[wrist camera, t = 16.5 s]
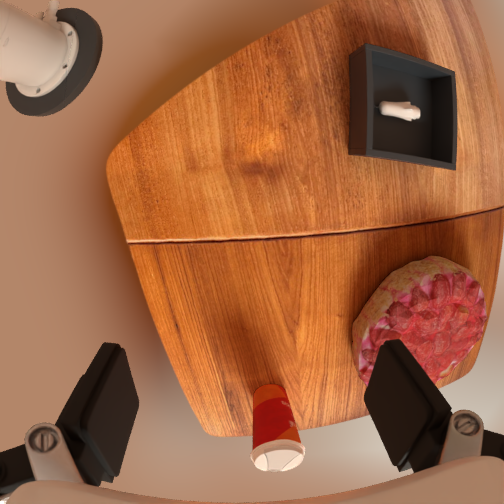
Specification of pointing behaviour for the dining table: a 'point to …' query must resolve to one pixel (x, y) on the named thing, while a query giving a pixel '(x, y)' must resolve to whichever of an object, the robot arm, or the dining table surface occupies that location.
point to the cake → (422, 316)
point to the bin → (402, 90)
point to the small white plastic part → (399, 110)
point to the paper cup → (274, 431)
